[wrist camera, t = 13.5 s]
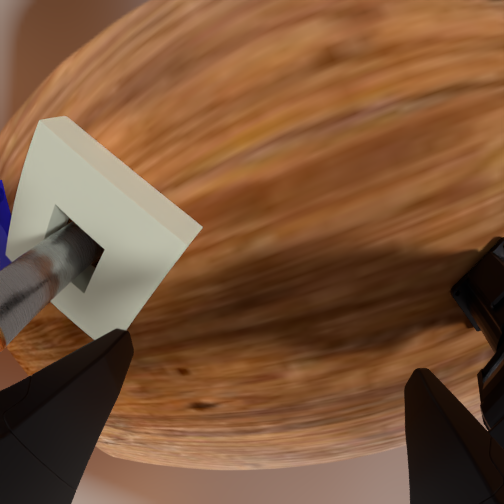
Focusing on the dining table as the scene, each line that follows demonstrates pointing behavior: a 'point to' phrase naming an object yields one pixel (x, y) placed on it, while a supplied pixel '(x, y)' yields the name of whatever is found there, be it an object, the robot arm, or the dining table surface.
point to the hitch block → (97, 224)
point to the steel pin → (42, 276)
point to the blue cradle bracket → (4, 227)
